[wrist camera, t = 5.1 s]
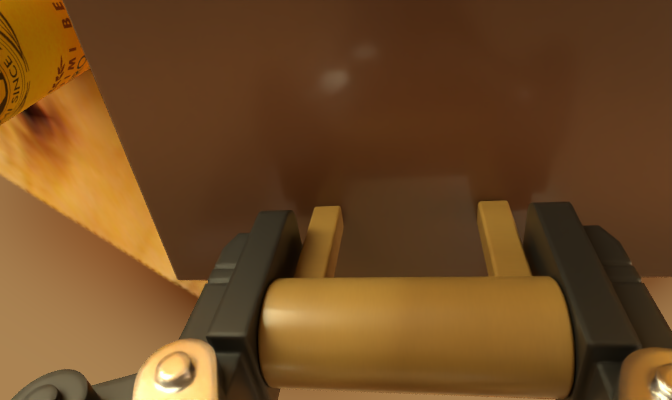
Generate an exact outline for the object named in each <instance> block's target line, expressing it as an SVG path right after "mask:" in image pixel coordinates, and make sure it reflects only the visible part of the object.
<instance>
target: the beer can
mask: <svg viewBox="0 0 672 400" xmlns="http://www.w3.org/2000/svg"><path fill="white" fill-rule="evenodd" d="M88 69H90V67H89V64H88V62H87V59H86V57H85V54H84V52H83V50H82V47H81V45H80V42H79V40H78V37H77V35H76V33H75V30H74V28H73V25H72V23H71V21H70V18H69V16H68V13H67V11H66V8H65V6H64V4H63V1H62V0H0V125H1V124H3V123H4V122H6V121H8V120H9V119H11V118H12V117H14V116H15V115H17V114H19V113H20V112H22V111H23V110H25V109H26V108H28V107H30V106H31V105H33V104H34V103H36V102H38V101H39V100H41V99H42V98H44V97H45V96H47V95H49V94H50V93H52V92H53V91H55V90H56V89H58V88H60V87H61V86H63V85H64V84H66V83H68V82H69V81H71V80H72V79H74V78H75V77H77V76H79V75H80V74H82V73H83V72H85V71H86V70H88Z"/></svg>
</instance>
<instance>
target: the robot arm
mask: <svg viewBox="0 0 672 400" xmlns="http://www.w3.org/2000/svg"><path fill="white" fill-rule="evenodd" d="M302 247H303V246H302V242H301V237H300V233H299V229H298V224H297V220H296V216H295V213H294V211H293V210H275V211H260V212H259V213H258V215H257V217H256V220H255V222H254V224H253V227H252V229H251V231H250V233H238V234H237V235H236V236H235V237H234V238H233V239H232V240H231V241H230V242H229V243H228V244H227V245H226V246H225V247H224V248H223V249H222V251H221V254H220V256H219V258H218V260H217V262H216V264H215V269H213V270H212V272H211V274H210V276H209V278H208V284H205V286H204V289H203V291H202V293H201V295H200V297H199V299H198V301H197V303H196V305H195V307H194V309H193V311H192V314H191V315H190V318H189V319H188V322H187V324H186V326H185V328H184V330H183V332H182V334H181V336H180V338H179V340H177V341H174V342H171V343H169V344H167V345H165V346H163V347H161V348H160V349H158V350H157V351H156V352H154V353H153V354H152V355H151V356H150V357H149V358H148V359H147V360H146V361H145V362H144V364H143V365H142V366H141V368H140V370H139V371H138V373H136V374H133V375H129V376H125V377H122V378H119V379H114V380H111V381H107V382H103V383H99V384H96V385H92V386H91V385H90V383H89V382H88V381H87V379H86V378H85V377H84V375H82V374H81V373H80V372H78V371H75V370H70V369H67V370H66V369H65V370H58V371H54V372H51V373H48V374H46V375H43V376H41V377H40V378H38V379H36V380H34V381H33V382H31V383H30V384H28V385H27V386H26V387H24V388H23V389H22V390H21V391H19V392H18V394H16V395H15V396H14V397H13V398H12V399H11V400H278V396H279V392H280V389H275V388H271V387H270V386H268V385H267V384H266V382H265V381H264V379H263V376H262V373H261V368H260V363H259V354H258V328H259V319H260V312H261V307H262V303H263V299H264V296H265V293H266V291H267V288H268V287H269V285H270V283H271V282H272V281H273V280H275V279H277V278H293V276H294V273H295V269H296V266H297V263H298V260H299V256H300V253H301V250H302ZM523 248H524V251H525V254H526V257H527V260H528V263H529V266H530V269H531V272H532V275H533V276H549V277H552V278H554V279H555V280H556V281H557V283H558V284H559V286H560V288H561V290H562V292H563V294H564V297H565V300H566V303H567V306H568V309H569V313H570V318H571V323H572V328H573V335H574V345H575V374H574V381H573V386H572V390H571V392H570V394H569V396H568V397H566V398H564V399H556V400H672V331H671V329H670V327H669V326H668V324H667V322H666V321H665V319H664V317H663V315H662V314H661V312H660V310H659V309H658V307H657V305H656V303H655V302H654V300H653V298H652V296H651V295H650V293H649V291H648V289H647V288H646V286H645V284H644V283H641V277H640V276H639V274H638V272H637V270H636V269H635V267H634V266H632V265H631V260H630V258H629V257H628V255H627V253H626V251H625V250H624V248H623V246H622V244H621V243H620V241H618V240H617V239H616V238H614V237H613V236H612V235H611V234H609V233H608V232H607V231H606V230H604V229H603V228H602V227H601V226H599V225H586V226H583V225H582V223H581V221H580V219H579V217H578V215H577V213H576V211H575V209H574V207H573V206H572V204H571V203H570V202H537V203H530V204H529V206H528V210H527V217H526V225H525V233H524V240H523Z"/></svg>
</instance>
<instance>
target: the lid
mask: <svg viewBox="0 0 672 400" xmlns="http://www.w3.org/2000/svg"><path fill="white" fill-rule="evenodd" d="M62 1H63V4H64V6H65V8H66V11H67V13H68V16H69V18H70V21H71V23H72V25H73V28H74V30H75V33H76V35H77V37H78V40H79V42H80V45H81V47H82V50H83V52H84V54H85V57H86V59H87V62H88V64H89V67H90V69H91V71H92V74H93V76H94V79H95V81H96V83H97V86H98V88H99V91H100V93H101V96H102V98H103V100H104V103H105V105H106V108H107V110H108V113H109V115H110V117H111V120H112V122H113V125H114V127H115V129H116V132H117V134H118V137H119V139H120V142H121V144H122V146H123V149H124V151H125V154H126V156H127V159H128V161H129V163H130V166H131V168H132V171H133V173H134V175H135V178H136V180H137V183H138V185H139V188H140V190H141V192H142V195H143V197H144V200H145V202H146V205H147V207H148V209H149V212H150V214H151V217H152V219H153V222H154V224H155V226H156V229H157V231H158V234H159V236H160V238H161V241H162V243H163V246H164V248H165V251H166V253H167V255H168V258H169V260H170V263H171V265H172V268H173V270H174V272H175V275H176V277H177V279H178V280H208V278H209V276H210V274H211V272H212V270H213V269H215V264H216V262H217V260H218V258H219V256H220V254H221V251H222V249H223V248H224V247H225V246H226V245H227V244H228V243H229V242H230V241H231V240H232V239H233V238H234V237H235V236H236V235H237V234H238V233H250V231H251V229H252V227H253V224H254V222H255V220H256V217H257V215H258V213H259V212H260V211H275V210H293V211H294V213H295V216H296V220H297V224H298V229H299V233H300V237H301V242H302V246H303V247H302V250H301V253H300V256H299V260H298V263H297V266H296V269H295V273H294V276H293V278H277V279H275V280H273V281H272V282H271V283H270V285H269V287H268V288H267V291H266V293H265V296H264V299H263V303H262V307H261V312H260V319H259V328H258V354H259V363H260V368H261V373H262V376H263V379H264V381H265V382H266V384H267V385H268V386H270V387H271V388H275V389H301V390H328V391H353V392H354V391H355V392H379V393H406V394H433V395H460V396H487V397H511V398H538V399H564V398H566V397H568V396H569V394H570V392H571V390H572V386H573V381H574V374H575V345H574V335H573V328H572V323H571V318H570V313H569V309H568V306H567V303H566V300H565V297H564V294H563V292H562V290H561V288H560V286H559V284H558V283H557V281H556V280H555V279H554V278H552V277H549V276H533V275H532V272H531V269H530V266H529V263H528V260H527V257H526V254H525V251H524V248H523V240H524V233H525V225H526V217H527V210H528V206H529V204H530V203H537V202H570V203H571V204H572V206H573V207H574V209H575V211H576V213H577V215H578V217H579V219H580V221H581V223H582V225H583V226H586V225H599V226H601V227H602V228H603V229H604V230H606V231H607V232H608V233H609V234H611V235H612V236H613V237H614V238H616V239H617V240H618V241H620V243H621V244H622V246H623V248H624V250H625V251H626V253H627V255H628V257H629V258H630V260H631V265H632V266H634V267H635V269H636V270H637V272H638V274H639V276H640V277H672V0H62Z"/></svg>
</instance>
